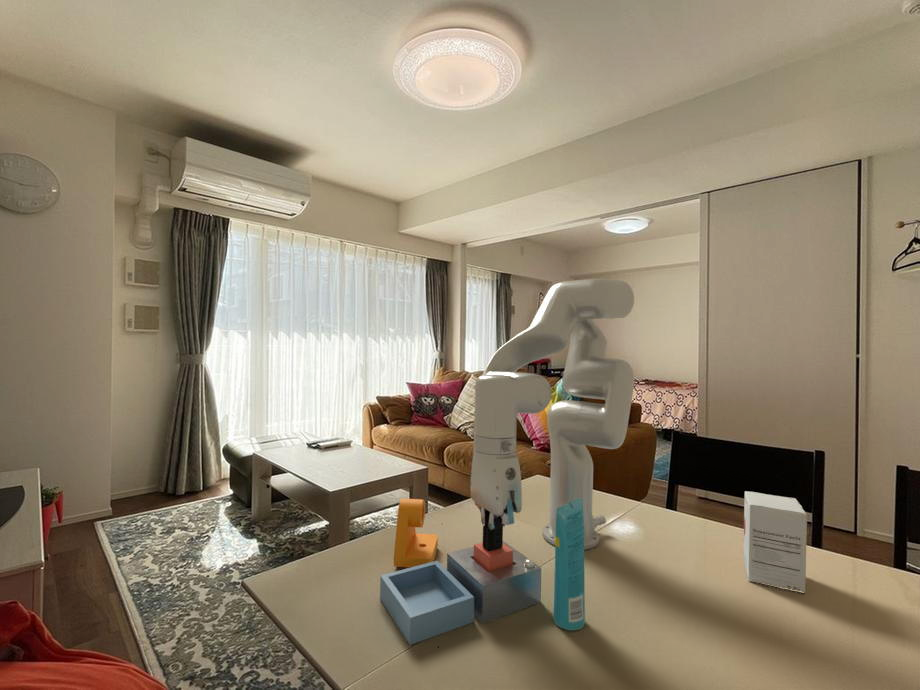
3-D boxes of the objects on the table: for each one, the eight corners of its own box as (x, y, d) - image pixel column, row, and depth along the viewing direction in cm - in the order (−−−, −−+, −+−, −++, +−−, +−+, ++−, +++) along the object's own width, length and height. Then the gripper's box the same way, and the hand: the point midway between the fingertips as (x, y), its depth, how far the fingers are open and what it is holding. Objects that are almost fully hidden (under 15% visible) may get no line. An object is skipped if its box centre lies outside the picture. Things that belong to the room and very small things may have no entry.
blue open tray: (436, 582, 80) (437, 560, 80) (473, 622, 68) (474, 597, 68) (380, 598, 74) (380, 575, 74) (409, 645, 63) (410, 617, 63)
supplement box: (742, 561, 90) (743, 489, 90) (795, 572, 86) (797, 497, 86) (746, 581, 82) (748, 503, 82) (806, 595, 78) (808, 513, 78)
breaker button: (496, 576, 80) (496, 538, 80) (512, 590, 75) (513, 550, 75) (473, 583, 77) (473, 544, 77) (488, 598, 73) (489, 556, 73)
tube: (565, 605, 73) (567, 493, 73) (592, 617, 70) (594, 500, 70) (543, 626, 68) (546, 505, 68) (572, 640, 65) (574, 513, 65)
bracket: (430, 573, 83) (431, 511, 83) (393, 570, 84) (394, 509, 84) (438, 547, 94) (439, 492, 94) (405, 544, 94) (406, 490, 94)
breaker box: (500, 569, 84) (501, 534, 84) (540, 602, 74) (541, 561, 74) (446, 585, 78) (447, 547, 78) (482, 623, 68) (483, 579, 68)
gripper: (539, 452, 71) (536, 562, 71) (489, 434, 84) (486, 528, 84) (502, 456, 68) (499, 573, 68) (455, 438, 81) (453, 535, 81)
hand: (492, 547), depth 76 cm, fingers closed
